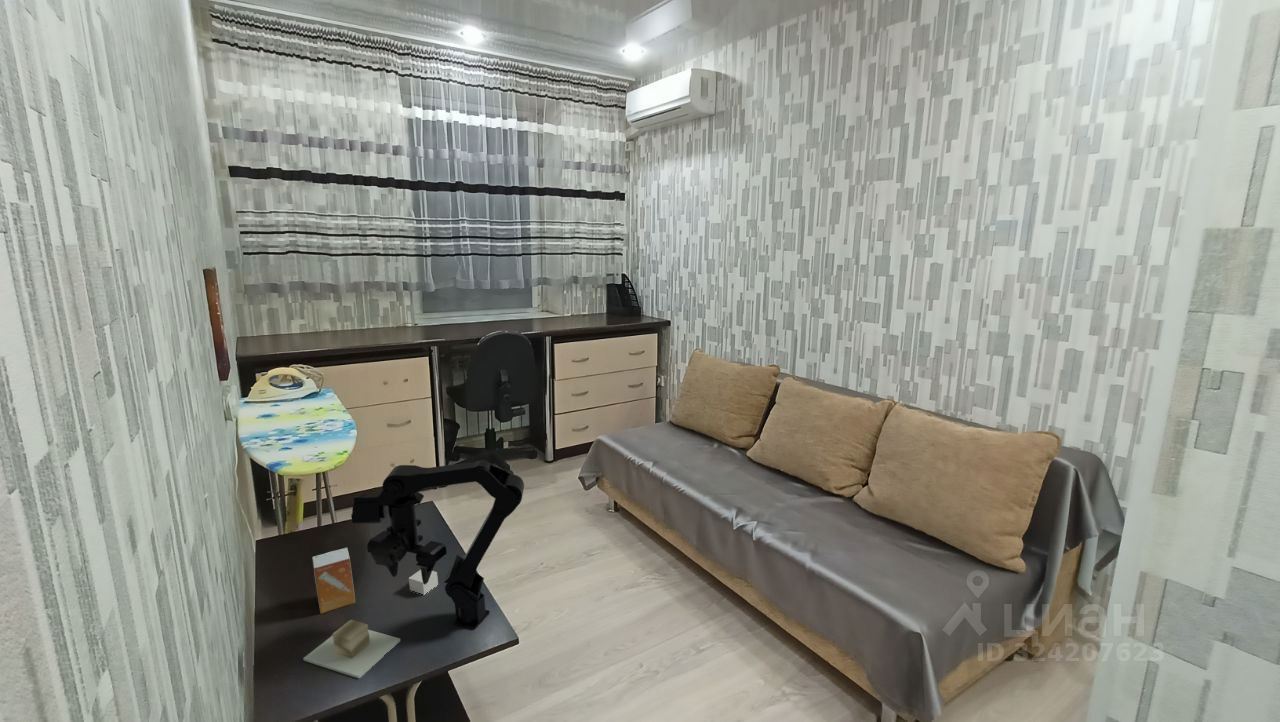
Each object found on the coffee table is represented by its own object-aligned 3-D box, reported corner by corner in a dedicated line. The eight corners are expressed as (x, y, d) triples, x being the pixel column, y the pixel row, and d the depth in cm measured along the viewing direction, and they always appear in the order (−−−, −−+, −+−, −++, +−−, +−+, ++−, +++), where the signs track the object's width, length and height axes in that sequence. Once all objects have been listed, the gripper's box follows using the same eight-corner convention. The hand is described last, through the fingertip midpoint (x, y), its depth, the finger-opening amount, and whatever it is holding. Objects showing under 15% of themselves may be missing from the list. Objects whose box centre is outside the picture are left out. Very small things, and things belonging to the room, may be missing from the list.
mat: (400, 640, 129) (400, 638, 129) (359, 678, 118) (358, 676, 118) (347, 625, 135) (347, 623, 134) (303, 660, 123) (303, 658, 123)
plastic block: (438, 585, 150) (436, 572, 149) (424, 596, 146) (422, 582, 145) (424, 581, 152) (422, 568, 151) (410, 591, 148) (408, 578, 147)
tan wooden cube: (370, 643, 128) (367, 624, 127) (352, 658, 123) (349, 639, 122) (353, 638, 129) (350, 619, 128) (335, 653, 125) (332, 633, 124)
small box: (320, 614, 139) (313, 568, 136) (318, 601, 144) (311, 556, 141) (356, 603, 143) (350, 557, 140) (353, 590, 148) (347, 546, 145)
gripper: (344, 530, 125) (352, 591, 128) (410, 544, 119) (417, 608, 122) (382, 508, 135) (389, 565, 138) (445, 520, 129) (450, 579, 132)
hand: (410, 579), depth 132 cm, fingers open, 9 cm apart
